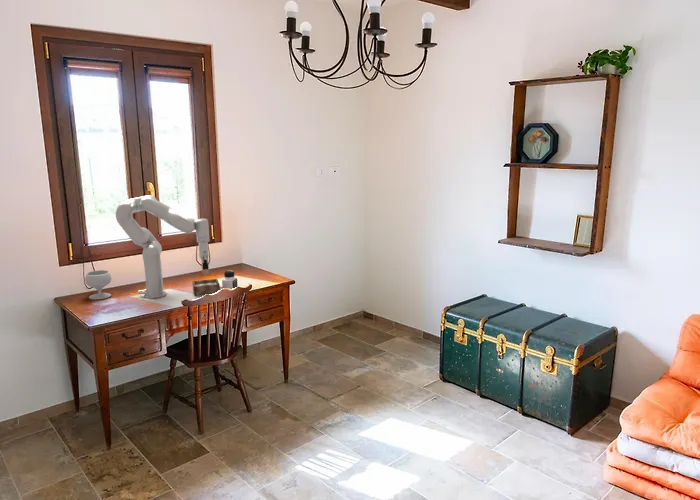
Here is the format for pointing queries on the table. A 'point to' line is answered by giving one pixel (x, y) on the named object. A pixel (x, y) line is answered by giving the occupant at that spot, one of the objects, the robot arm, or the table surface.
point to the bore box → (205, 287)
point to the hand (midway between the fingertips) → (205, 268)
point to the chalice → (98, 282)
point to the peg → (206, 271)
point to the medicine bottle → (229, 280)
